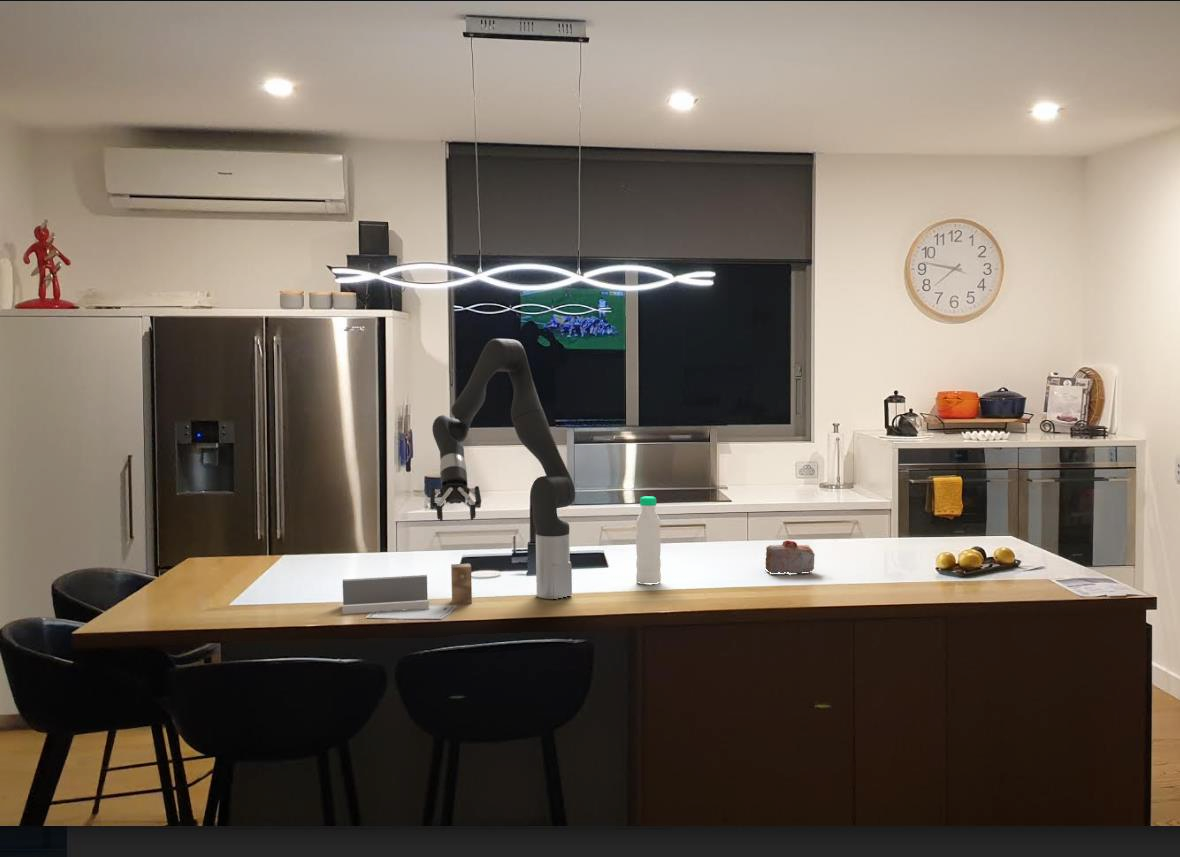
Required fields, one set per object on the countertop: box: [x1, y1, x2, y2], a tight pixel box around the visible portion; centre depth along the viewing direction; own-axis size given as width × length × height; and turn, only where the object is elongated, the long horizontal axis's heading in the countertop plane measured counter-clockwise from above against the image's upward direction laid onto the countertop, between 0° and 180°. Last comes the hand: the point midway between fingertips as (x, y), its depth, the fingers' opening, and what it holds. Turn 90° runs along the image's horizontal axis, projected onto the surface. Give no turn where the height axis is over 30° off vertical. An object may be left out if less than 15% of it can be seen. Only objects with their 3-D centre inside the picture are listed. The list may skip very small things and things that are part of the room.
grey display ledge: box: [341, 574, 430, 615], centre depth 261 cm, size 22×9×7 cm, turn 102°
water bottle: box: [635, 495, 662, 583], centre depth 285 cm, size 7×7×25 cm
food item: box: [764, 540, 816, 573], centre depth 297 cm, size 14×8×10 cm, turn 95°
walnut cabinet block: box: [450, 563, 473, 605], centre depth 265 cm, size 5×5×10 cm
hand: (456, 519), depth 276 cm, fingers open, 8 cm apart
